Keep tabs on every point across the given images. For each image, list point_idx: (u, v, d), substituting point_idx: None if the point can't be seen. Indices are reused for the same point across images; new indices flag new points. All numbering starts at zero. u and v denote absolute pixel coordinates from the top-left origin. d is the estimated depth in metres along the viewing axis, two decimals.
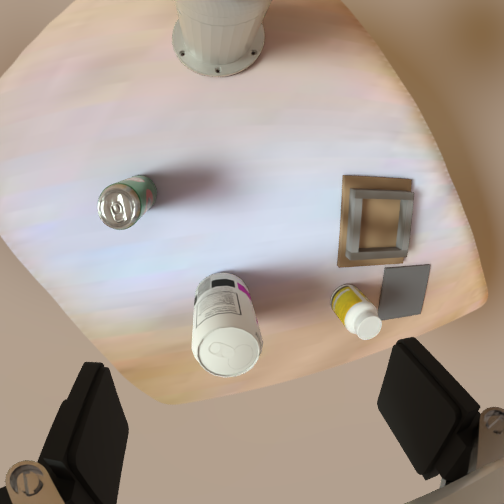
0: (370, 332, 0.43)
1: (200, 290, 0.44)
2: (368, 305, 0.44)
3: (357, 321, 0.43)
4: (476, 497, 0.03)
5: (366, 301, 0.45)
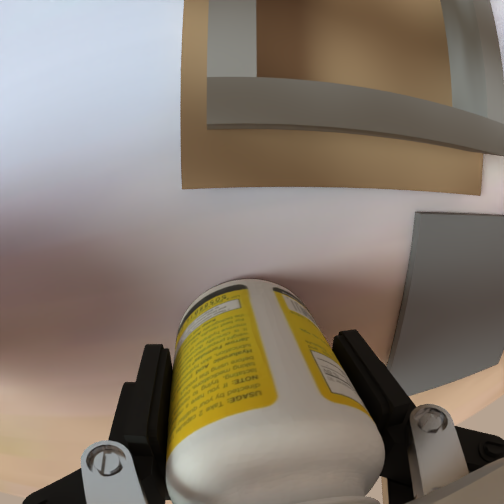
0: None
1: None
2: (320, 441, 0.05)
3: None
4: (476, 497, 0.03)
5: (310, 403, 0.06)
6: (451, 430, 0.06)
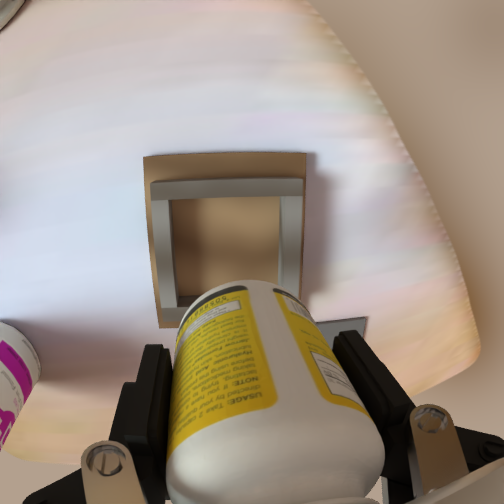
0: None
1: None
2: (320, 442, 0.05)
3: None
4: (476, 497, 0.03)
5: (310, 405, 0.06)
6: (451, 430, 0.06)
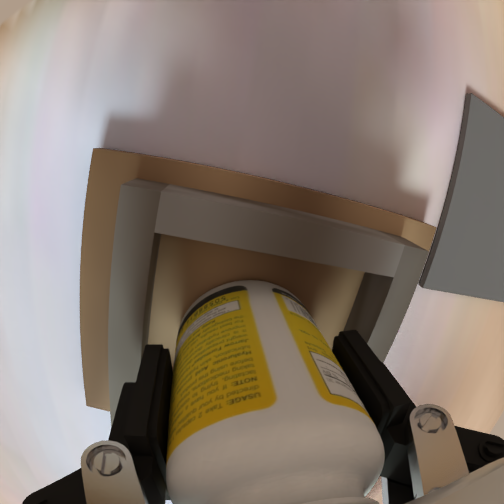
0: None
1: None
2: (320, 443, 0.05)
3: None
4: (476, 497, 0.03)
5: (309, 405, 0.06)
6: (451, 430, 0.06)
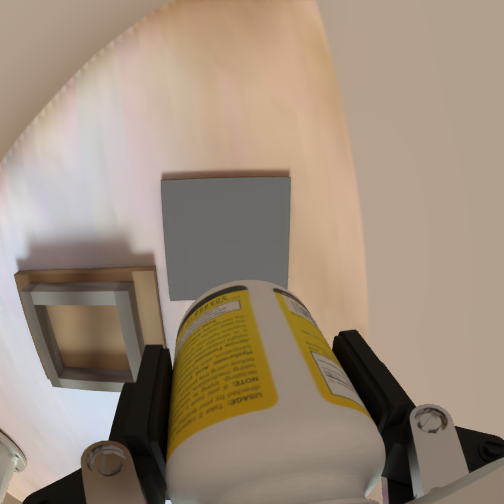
0: None
1: None
2: (321, 443, 0.05)
3: None
4: (476, 497, 0.03)
5: (310, 405, 0.06)
6: (451, 430, 0.06)
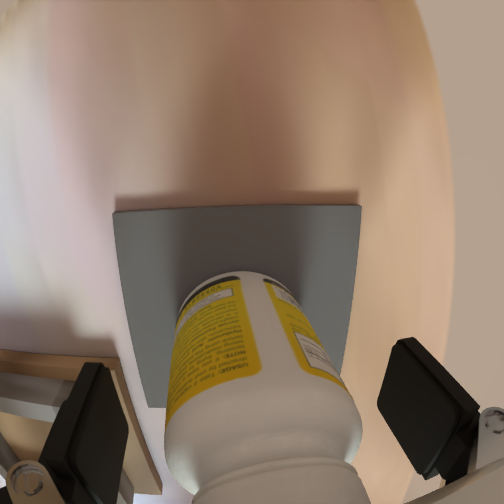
0: None
1: None
2: (298, 406, 0.06)
3: None
4: (476, 497, 0.03)
5: (290, 374, 0.07)
6: None
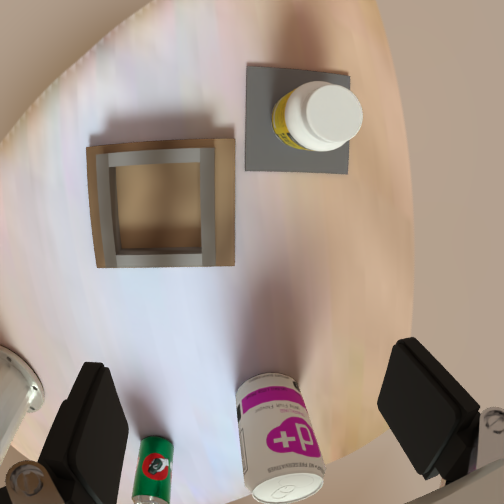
0: (338, 125, 0.19)
1: None
2: None
3: (305, 98, 0.19)
4: (476, 497, 0.03)
5: None
6: None
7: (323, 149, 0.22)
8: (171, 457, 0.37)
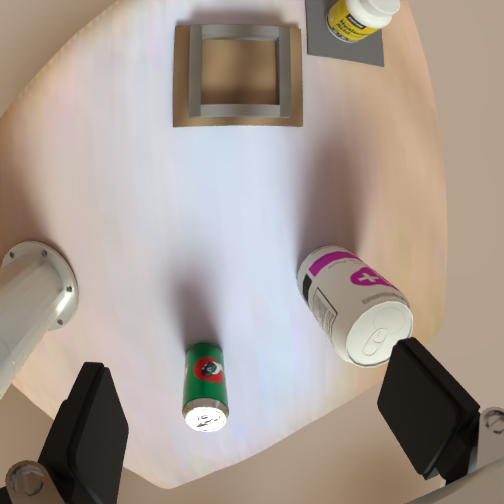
0: (386, 3, 0.21)
1: None
2: None
3: None
4: (476, 497, 0.03)
5: None
6: None
7: (374, 24, 0.24)
8: (223, 364, 0.39)
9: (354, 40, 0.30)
